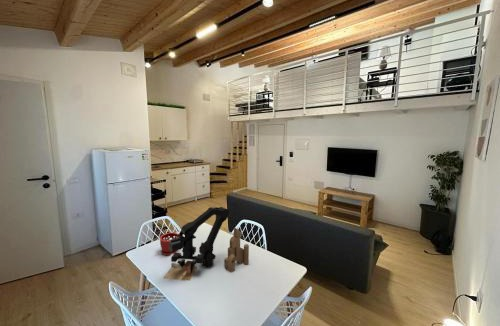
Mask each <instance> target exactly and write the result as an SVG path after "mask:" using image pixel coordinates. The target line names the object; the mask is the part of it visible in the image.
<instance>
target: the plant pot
mask: <svg viewBox="0 0 500 326" xmlns="http://www.w3.org/2000/svg"><path fill="white" fill-rule="evenodd" d="M178 234H179V233H177V232H167V233H164V234H162V235H161V236H160V237H159V243H160V244H159V245H160V248H161V253H162V254H163V255H164V256H171V255H174V253H178V251H179V250H177V251H174V252H170V249H169V242H170V240H171V239H176V238H178ZM170 238H171V239H170Z"/></svg>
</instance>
